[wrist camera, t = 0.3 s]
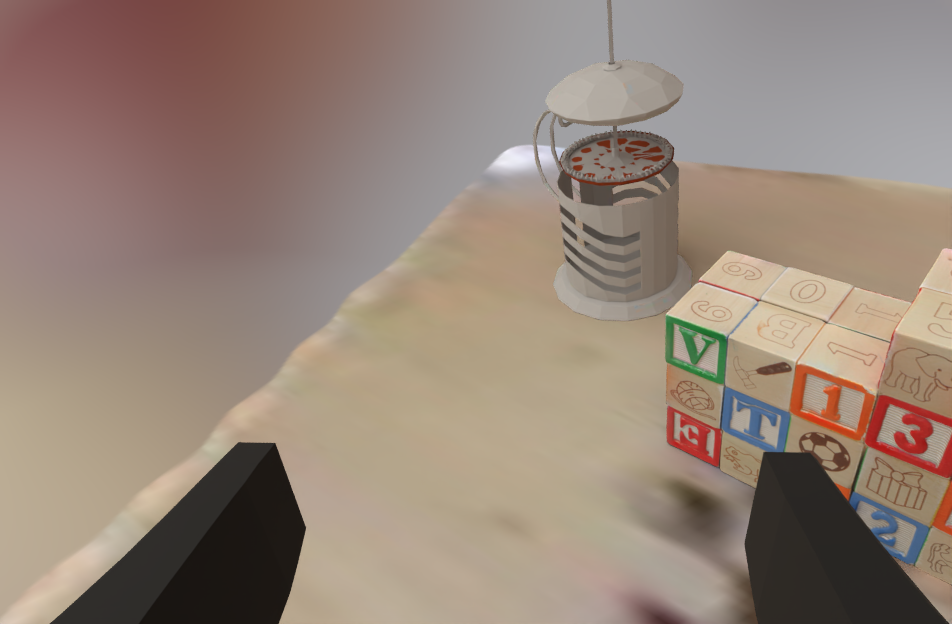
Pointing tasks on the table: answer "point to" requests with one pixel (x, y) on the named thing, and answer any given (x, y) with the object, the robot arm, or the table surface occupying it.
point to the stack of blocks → (823, 390)
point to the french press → (604, 167)
